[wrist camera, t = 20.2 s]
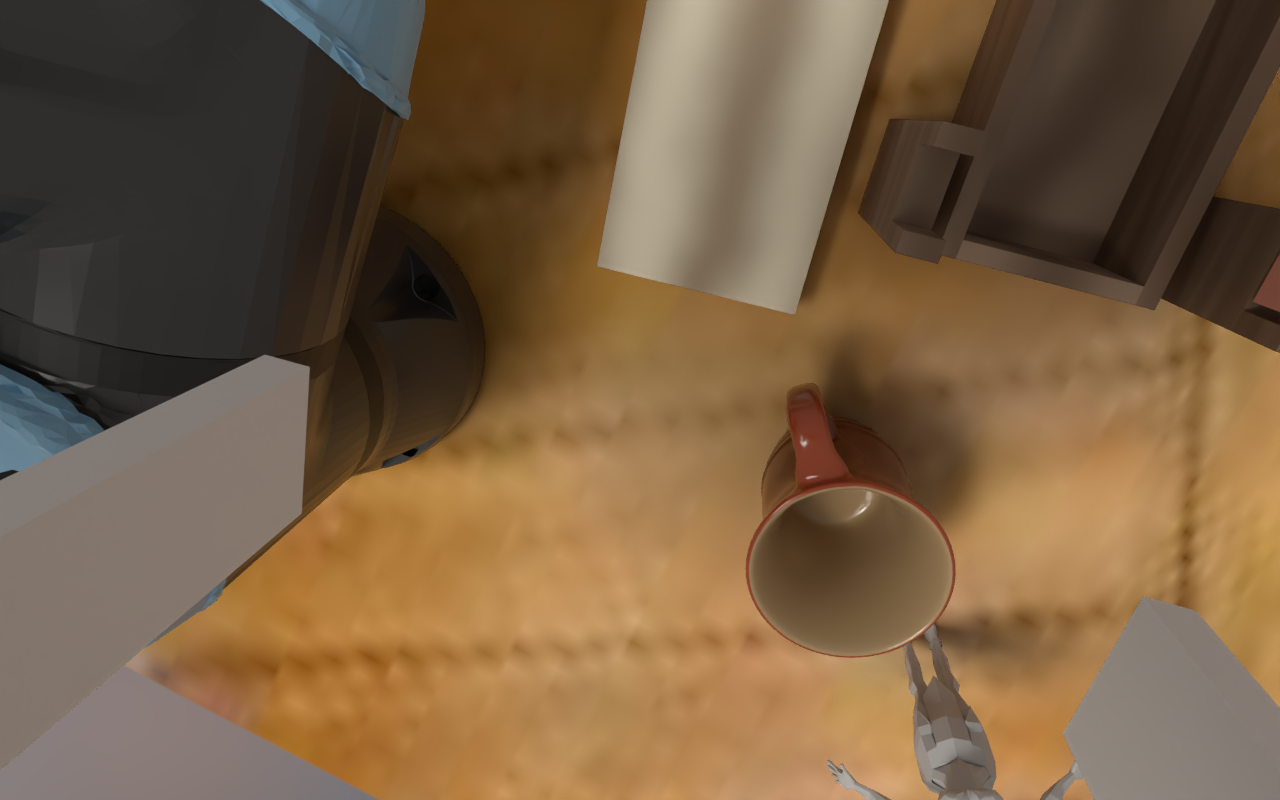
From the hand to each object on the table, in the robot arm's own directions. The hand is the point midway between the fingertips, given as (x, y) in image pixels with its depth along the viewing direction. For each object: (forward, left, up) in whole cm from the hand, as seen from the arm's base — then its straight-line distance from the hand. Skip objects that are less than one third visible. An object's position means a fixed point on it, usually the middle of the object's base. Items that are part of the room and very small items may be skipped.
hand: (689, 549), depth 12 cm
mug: (+7, -9, -29) cm, 31 cm away
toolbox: (+12, +10, -29) cm, 33 cm away
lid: (-2, +5, -29) cm, 30 cm away
